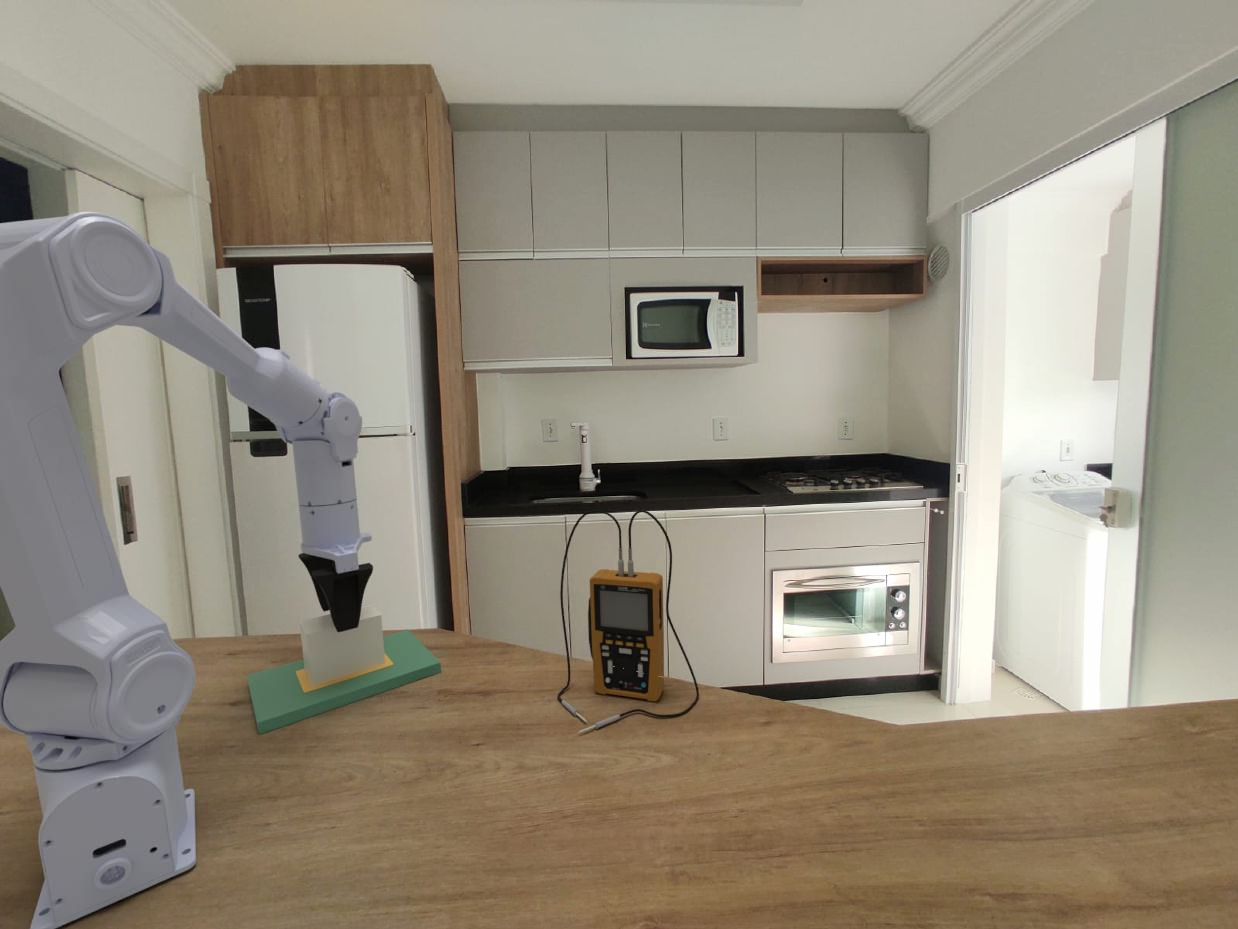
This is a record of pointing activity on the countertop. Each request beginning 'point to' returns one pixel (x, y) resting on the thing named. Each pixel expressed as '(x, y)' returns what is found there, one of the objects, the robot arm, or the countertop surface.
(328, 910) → the countertop surface
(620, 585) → the multimeter
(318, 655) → the block
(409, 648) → the header board
